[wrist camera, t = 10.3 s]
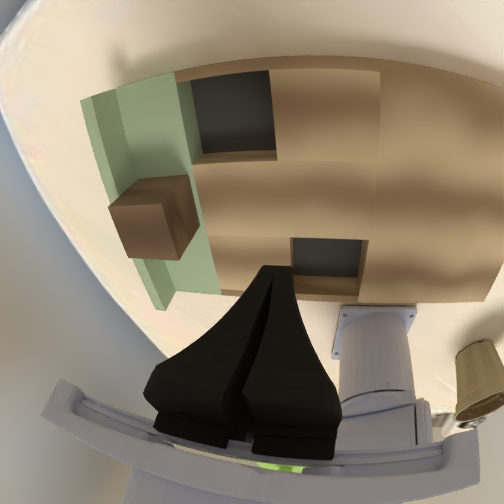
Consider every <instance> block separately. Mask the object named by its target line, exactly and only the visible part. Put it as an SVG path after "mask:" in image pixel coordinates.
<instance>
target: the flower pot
mask: <svg viewBox="0 0 504 504" xmlns="http://www.w3.org/2000/svg"><path fill="white" fill-rule="evenodd" d="M455 364H456V378H457V404H456V412H455V414H454V416H453V420H454V421H455V422H467V421H471V420H475V419H478V418H481V417H483V416H486V415H488V414H490V413H492V412H494V411H496V410H498V409H500V408H501V407H503V406H504V366H503V364H502V362H501V359H500V357H499V355H498V353H497V351H496V349H495V347H494V344H493V343H492V342H491V341H489V340H484V341H483V342H481V343H477V342H476V343H473V344H471V345H469V346H468V347H466V348H465V349H464V350H462V351H461V352H460V353H459V354H458V356H457V359H456V361H455Z"/></svg>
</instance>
